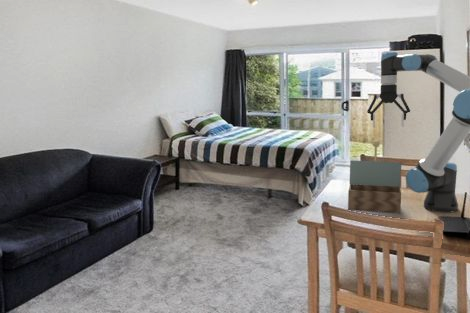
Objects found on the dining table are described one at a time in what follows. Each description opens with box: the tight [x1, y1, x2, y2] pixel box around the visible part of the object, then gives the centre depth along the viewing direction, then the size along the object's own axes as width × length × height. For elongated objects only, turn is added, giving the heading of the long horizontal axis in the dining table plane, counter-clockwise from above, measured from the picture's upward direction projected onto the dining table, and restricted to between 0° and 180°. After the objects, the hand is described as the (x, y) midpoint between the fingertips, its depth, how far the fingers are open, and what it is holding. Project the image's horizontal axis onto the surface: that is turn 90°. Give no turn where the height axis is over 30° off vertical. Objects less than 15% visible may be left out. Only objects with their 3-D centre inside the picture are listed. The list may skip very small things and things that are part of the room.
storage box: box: [347, 184, 402, 214], centre depth 200 cm, size 24×12×10 cm, turn 71°
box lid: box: [349, 139, 402, 188], centre depth 205 cm, size 25×23×4 cm
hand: (387, 126), depth 204 cm, fingers open, 13 cm apart
